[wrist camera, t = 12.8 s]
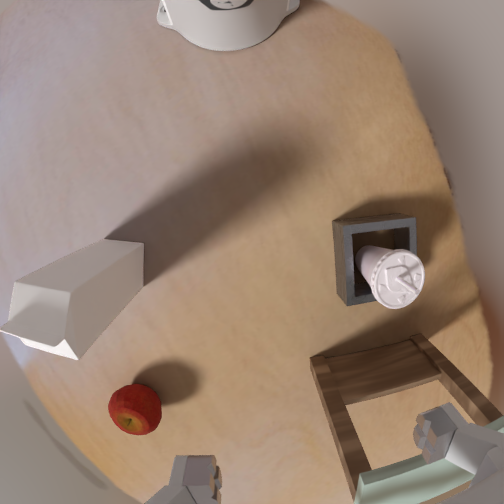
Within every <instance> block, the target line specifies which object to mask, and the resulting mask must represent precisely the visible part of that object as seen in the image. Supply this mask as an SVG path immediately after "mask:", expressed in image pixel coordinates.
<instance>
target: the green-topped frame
mask: <svg viewBox="0 0 504 504" xmlns="http://www.w3.org/2000/svg"><path fill="white" fill-rule="evenodd" d="M310 369H311V372H312V375H313V378H314V381H315V384H316V387H317V390H318V393H319V396H320V399H321V402H322V405H323V408H324V411H325V414H326V417H327V420H328V423H329V426H330V429H331V432H332V435H333V439H334V442H335V445H336V448H337V451H338V454H339V457H340V460H341V463H342V466H343V470H344V473H345V476H346V479H347V482H348V485H349V489H350V492H351V495H352V498H353V501H354V504H418V503H421V502H423V501H426V500H428V499H431V498H433V497H435V496H438V495H440V494H442V493H445V492H447V491H449V490H451V489H453V488H455V487H457V486H459V485H461V484H463V483H465V482H467V481H469V480H471V479H473V478H474V476H475V475H474V474H472V473H470V472H469V471H467V470H465V469H463V468H461V467H459V466H457V465H455V464H453V463H452V462H450V461H448V460H446V459H445V458H443V459H441V460H438V461H436V462H433V463H431V464H428V465H427V463H426V461H425V460H424V458H423V456H422V454H420V455H418V456H415V457H412V458H409V459H406V460H403V461H400V462H397V463H394V464H391V465H388V466H385V467H381V468H378V469H374V470H372V469H371V467H370V464H369V462H368V460H367V457H366V455H365V452H364V450H363V447H362V445H361V442H360V440H359V438H358V435H357V433H356V430H355V428H354V426H353V423H352V421H351V418H350V416H349V414H348V411H347V409H346V406H345V405H349V404H353V403H357V402H362V401H366V400H370V399H374V398H378V397H382V396H385V395H389V394H393V393H396V392H400V391H403V390H406V389H410V388H413V387H416V386H419V385H422V384H425V383H428V382H431V381H434V380H437V379H438V380H439V381H440V382H441V383H442V385H443V386H444V387H445V388H446V389H447V390H448V391H449V393H450V394H451V395H452V396H453V397H454V398H455V400H456V401H457V402H458V403H459V404H460V405H461V407H462V408H463V409H464V410H465V411H466V413H467V414H468V415H469V416H470V417H471V418H472V420H473V421H474V422H475V423H476V424H477V425H479V426H482V427H485V428H488V429H492V430H495V431H498V432H501V433H504V416H503V415H502V414H501V413H500V412H499V411H498V409H497V408H496V407H495V406H494V405H493V404H492V403H491V402H490V401H489V400H488V399H487V398H486V397H485V396H484V395H483V394H482V393H481V392H480V391H479V390H478V389H477V388H476V387H475V386H474V385H473V384H472V383H471V382H470V381H469V380H468V379H467V378H466V377H465V376H464V375H463V374H462V373H461V372H460V371H459V370H458V369H457V368H456V367H455V366H454V365H453V364H452V363H451V362H450V361H449V360H448V359H447V358H446V357H445V356H444V355H443V354H442V353H441V352H440V351H439V350H438V349H437V348H436V347H435V346H434V345H433V344H432V343H431V342H429V341H428V340H427V339H426V338H425V337H424V336H423V335H422V334H418V335H414V336H410V340H408V341H404V342H400V343H396V344H392V345H388V346H383V347H379V348H375V349H370V350H366V351H361V352H356V353H351V354H346V355H341V356H336V357H331V358H325V357H324V355H323V356H317V357H311V358H310Z"/></svg>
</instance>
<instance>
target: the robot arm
mask: <svg viewBox="0 0 504 504" xmlns="http://www.w3.org/2000/svg"><path fill="white" fill-rule="evenodd" d="M299 4H300V0H160V4H159V9H158V13H157V21H158V23H159V24H160V25H161V26H164V27H166V28H170V29H174V30H176V31H178V32H179V33H180V34H181V35H182V36H184V37H185V38H186V39H187V40H188V41H190V42H191V43H193V44H195V45H197V46H200V47H203V48H206V49H210V50H217V51H233V50H240V49H244V48H248V47H251V46H253V45H256V44H258V43H260V42H262V41H263V40H265V39H266V38H268V37H269V36H270V35H271V34H272V33H273V32H274V31H275V30H276V29H277V28H278V26H279V24H280V23H281V21H282V20H283V18H284V17H285V16H287V15H289V14H290V13H292V12H294V11H295V10H297V9H298V7H299ZM165 11H166V12H165ZM416 422H417V423H418V424H417V425H416V426H415V428H414V432H413V437H414V441H415V444H416V446H417V447H418V448H420V449H422V450H423V451H422V456H423V458H424V460H425V461H426V463H427V465H428V464H431V463H433V462H436V461H438V460H441V459H443V458H445V459H446V460H448V461H450V462H452V463H453V464H455V465H457V466H459V467H461V468H463V469H465V470H467V471H469V472H470V473H472V474H474V475H475V476H474V478H473V480H472V481H471V483H470V485H469V488H467V489H465V490H463V491H461V492H460V493H458V494H456V495H453V496H451V497H449V498H447V499H445V500H443V501H441V502H439V503H437V504H504V433H501V432H498V431H495V430H492V429H488V428H485V427H482V426H479V425H476V424H473V423H470V424H468V423H467V422H466V420H465V419H464V418H463V417H462V416H461V414H460V413H459V412H458V411H457V409H456V408H455V407H454V406H453V405H452V403H450V402H448V403H446V404H444V405H441V406H439V407H436V408H433V409H431V410H428V411H425V412H423V413H420V414H418V416H417V418H416ZM221 487H222V476H221V471H220V468H219V466H217V465H216V458H215V456H214V455H176V457H175V458H174V462H173V467H172V471H171V476H170V481H169V485H168V486H164V487H163V488H162V489H161V490H159V491H158V492H157V493H156V494H155V495H154V496H153V497H151V498H150V499H149V500H148V501H147V502H146V503H144V504H221V494H220V491H219V489H220V488H221Z"/></svg>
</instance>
